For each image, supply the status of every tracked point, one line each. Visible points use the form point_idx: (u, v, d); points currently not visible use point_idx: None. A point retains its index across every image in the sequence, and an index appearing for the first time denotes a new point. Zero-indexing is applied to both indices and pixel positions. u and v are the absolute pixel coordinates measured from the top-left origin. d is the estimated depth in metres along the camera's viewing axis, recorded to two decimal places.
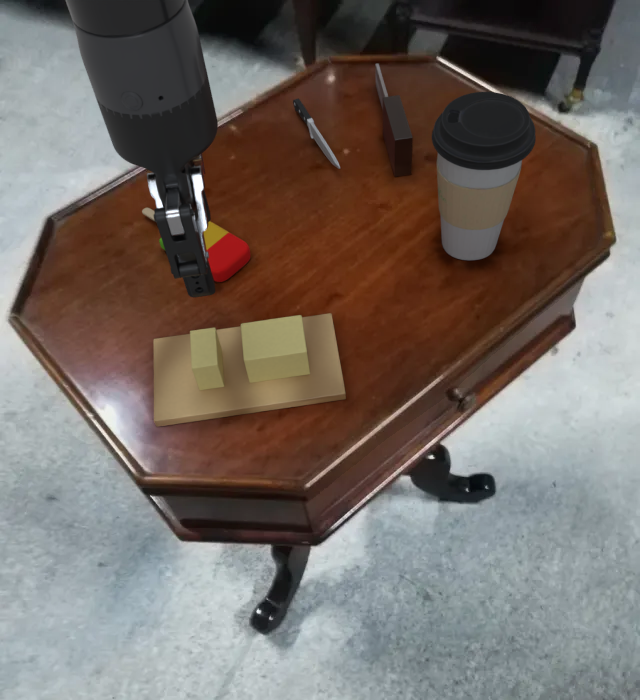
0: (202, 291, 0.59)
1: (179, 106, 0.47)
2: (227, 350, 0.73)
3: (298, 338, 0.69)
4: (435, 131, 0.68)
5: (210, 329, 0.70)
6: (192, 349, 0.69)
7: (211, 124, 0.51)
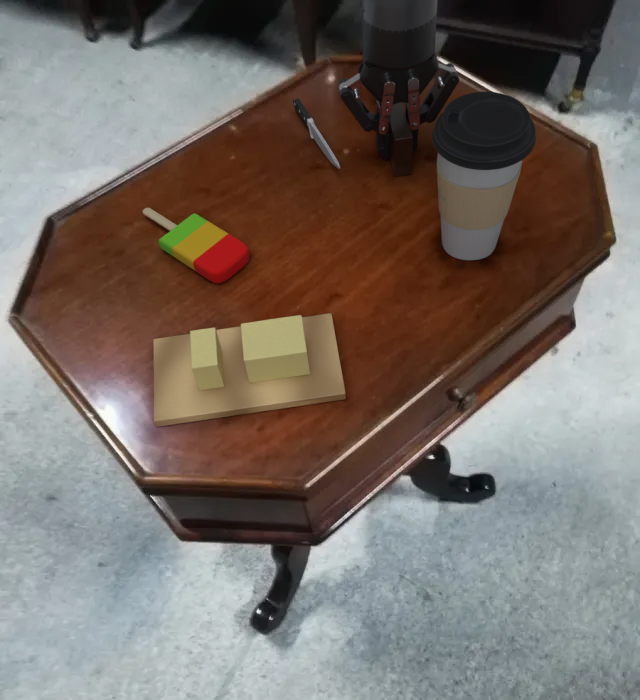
0: None
1: (369, 25, 0.73)
2: (227, 350, 0.73)
3: (298, 338, 0.69)
4: (435, 131, 0.68)
5: (210, 329, 0.70)
6: (192, 349, 0.69)
7: (390, 58, 0.75)
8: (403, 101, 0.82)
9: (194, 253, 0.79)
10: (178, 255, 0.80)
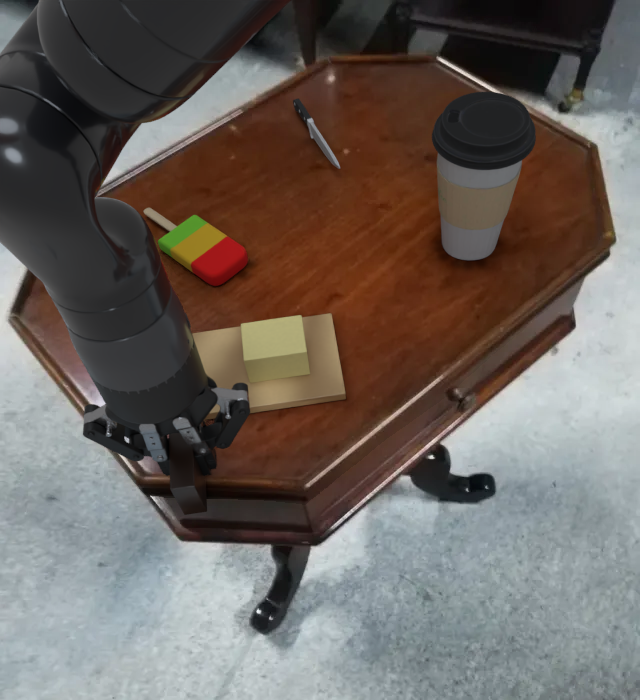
0: None
1: (90, 376, 0.50)
2: (227, 350, 0.73)
3: (298, 338, 0.69)
4: (435, 131, 0.68)
5: None
6: None
7: (128, 414, 0.52)
8: (177, 432, 0.58)
9: (192, 255, 0.79)
10: (176, 256, 0.80)
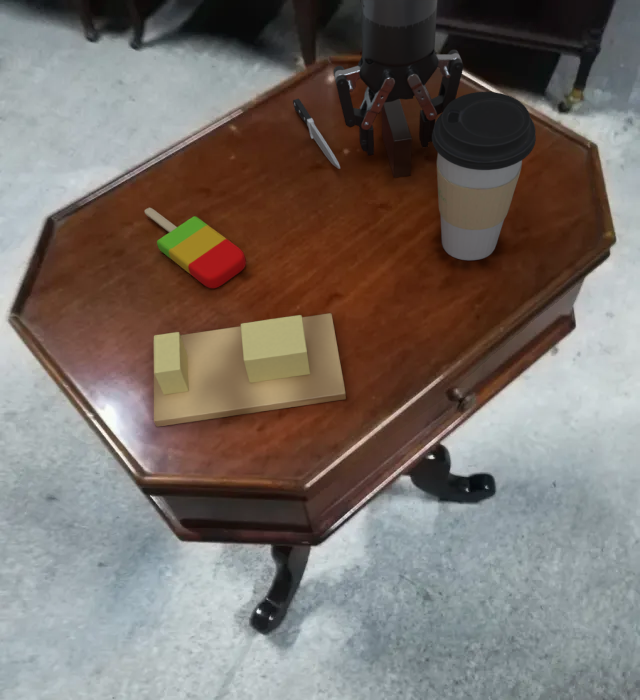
0: None
1: (369, 20, 0.73)
2: (227, 350, 0.73)
3: (298, 338, 0.69)
4: (435, 131, 0.68)
5: (174, 334, 0.70)
6: (155, 354, 0.69)
7: (390, 54, 0.74)
8: (403, 97, 0.81)
9: (190, 257, 0.79)
10: (174, 258, 0.80)
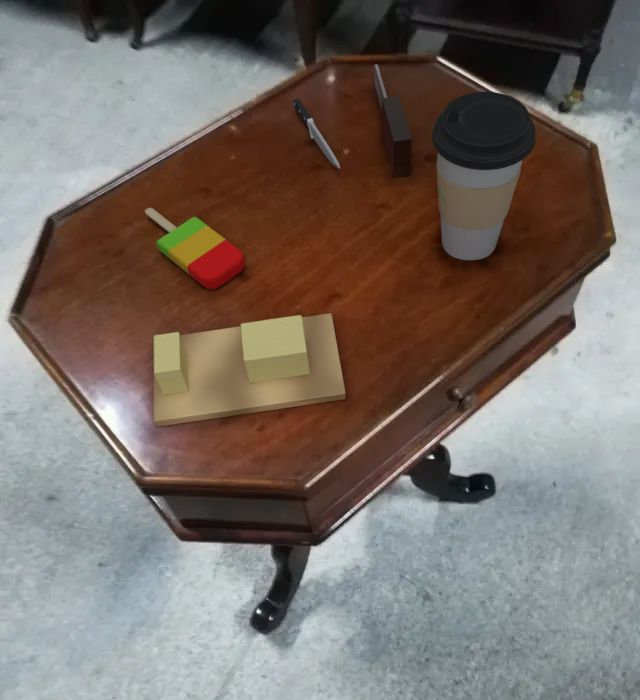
0: None
1: None
2: (227, 350, 0.73)
3: (298, 338, 0.69)
4: (435, 131, 0.68)
5: (174, 334, 0.70)
6: (155, 354, 0.69)
7: None
8: None
9: (189, 257, 0.79)
10: (174, 258, 0.80)
